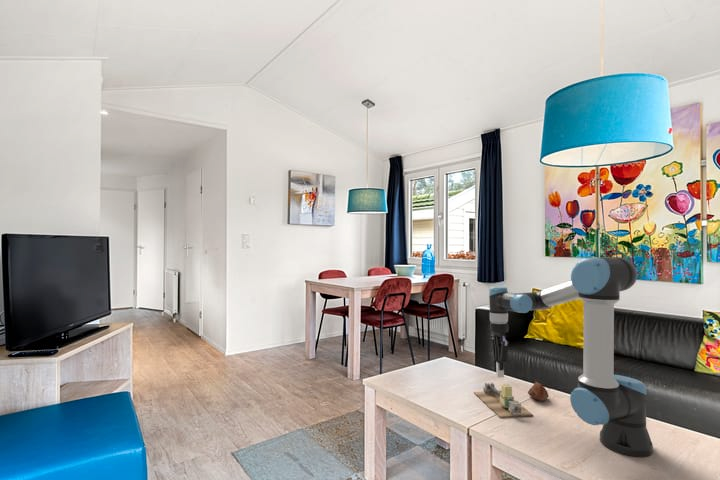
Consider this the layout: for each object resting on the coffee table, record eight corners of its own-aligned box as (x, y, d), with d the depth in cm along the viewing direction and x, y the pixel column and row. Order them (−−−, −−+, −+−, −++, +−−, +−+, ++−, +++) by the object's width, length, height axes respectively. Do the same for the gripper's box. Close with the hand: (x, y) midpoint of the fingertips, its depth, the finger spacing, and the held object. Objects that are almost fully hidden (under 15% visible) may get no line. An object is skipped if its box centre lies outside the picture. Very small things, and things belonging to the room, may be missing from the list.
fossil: (539, 397, 168) (533, 374, 174) (522, 401, 174) (517, 378, 179) (555, 403, 174) (550, 379, 180) (538, 406, 180) (533, 383, 185)
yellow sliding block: (513, 407, 164) (513, 387, 164) (504, 407, 163) (504, 387, 163) (509, 403, 168) (509, 383, 168) (499, 403, 167) (499, 384, 167)
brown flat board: (533, 416, 158) (533, 403, 158) (499, 418, 157) (499, 404, 157) (502, 392, 184) (502, 380, 184) (473, 393, 182) (473, 381, 182)
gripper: (514, 324, 166) (516, 381, 166) (500, 319, 179) (501, 372, 179) (497, 325, 166) (498, 382, 165) (484, 320, 179) (485, 372, 178)
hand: (500, 376), depth 172 cm, fingers closed
